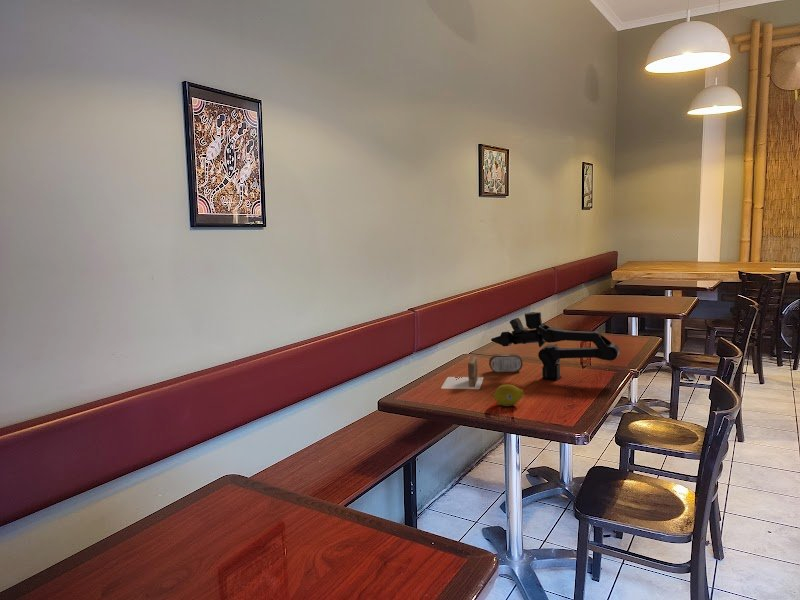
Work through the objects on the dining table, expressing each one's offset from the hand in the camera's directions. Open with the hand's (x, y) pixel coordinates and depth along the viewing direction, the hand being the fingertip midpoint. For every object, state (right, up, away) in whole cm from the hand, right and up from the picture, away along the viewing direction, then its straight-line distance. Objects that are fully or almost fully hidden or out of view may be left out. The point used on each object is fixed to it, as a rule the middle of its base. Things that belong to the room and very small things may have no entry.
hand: (495, 339), depth 259 cm
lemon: (-3, -22, -45) cm, 50 cm away
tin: (+5, -15, +2) cm, 16 cm away
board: (-12, -18, -13) cm, 25 cm away
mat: (-16, -18, -12) cm, 27 cm away
